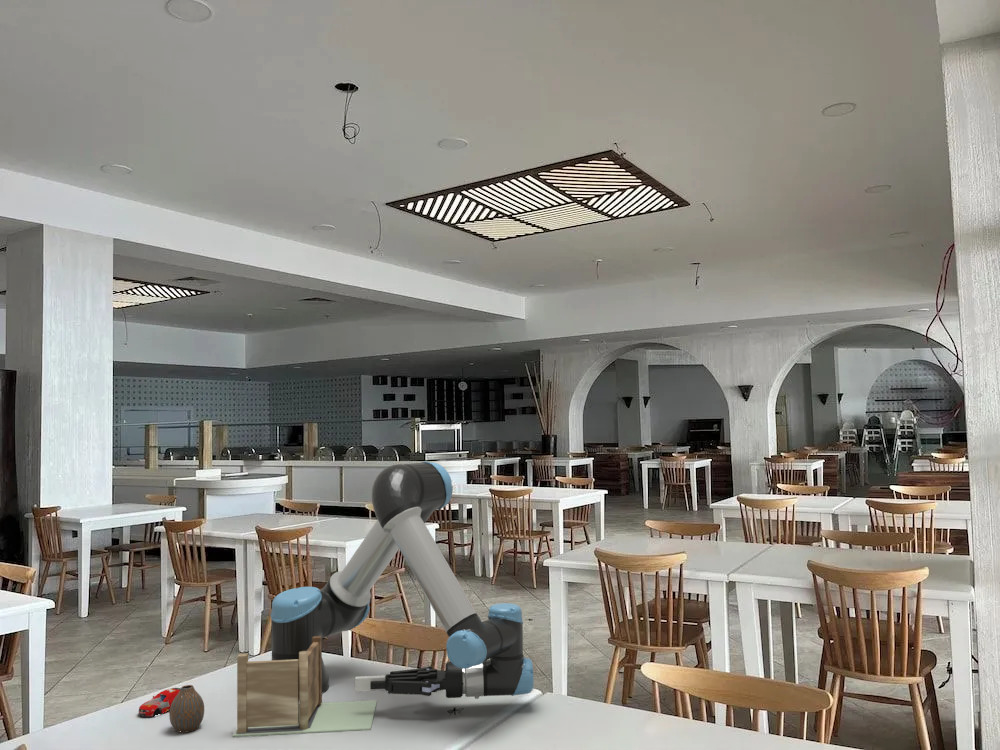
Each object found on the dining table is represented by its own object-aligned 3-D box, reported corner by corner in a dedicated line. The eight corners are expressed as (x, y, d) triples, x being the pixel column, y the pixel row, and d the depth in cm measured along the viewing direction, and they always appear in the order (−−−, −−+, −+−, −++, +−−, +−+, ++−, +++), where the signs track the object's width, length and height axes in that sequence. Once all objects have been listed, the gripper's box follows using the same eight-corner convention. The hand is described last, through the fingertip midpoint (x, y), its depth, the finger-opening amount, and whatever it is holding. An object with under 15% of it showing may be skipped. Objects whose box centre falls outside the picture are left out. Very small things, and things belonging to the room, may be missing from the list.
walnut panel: (309, 724, 165) (309, 652, 166) (300, 724, 165) (300, 652, 166) (322, 702, 178) (321, 635, 179) (314, 702, 178) (313, 636, 179)
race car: (148, 721, 172) (148, 702, 172) (132, 717, 174) (133, 698, 175) (199, 702, 183) (199, 684, 183) (184, 698, 186) (184, 681, 186)
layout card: (252, 707, 178) (252, 706, 178) (376, 701, 180) (376, 699, 180) (232, 737, 161) (232, 735, 161) (370, 729, 163) (370, 727, 163)
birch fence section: (239, 730, 164) (239, 653, 165) (308, 726, 165) (308, 650, 166) (237, 733, 162) (237, 656, 163) (307, 729, 163) (307, 653, 164)
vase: (183, 737, 161) (183, 694, 162) (162, 731, 165) (162, 688, 165) (211, 726, 167) (211, 684, 168) (190, 720, 171) (190, 679, 171)
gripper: (464, 706, 167) (352, 712, 165) (463, 686, 180) (359, 691, 178) (463, 670, 167) (351, 675, 166) (462, 653, 180) (358, 657, 178)
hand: (355, 684), depth 172 cm, fingers closed
